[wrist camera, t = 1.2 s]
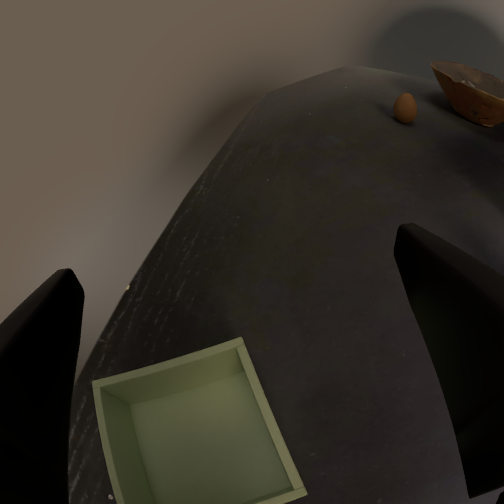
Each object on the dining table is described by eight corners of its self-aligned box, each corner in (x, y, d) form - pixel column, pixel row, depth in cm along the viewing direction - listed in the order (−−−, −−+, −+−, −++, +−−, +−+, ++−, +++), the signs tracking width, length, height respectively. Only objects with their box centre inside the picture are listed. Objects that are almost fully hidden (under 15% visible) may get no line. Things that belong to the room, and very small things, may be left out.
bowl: (523, 128, 51) (532, 95, 43) (516, 161, 41) (531, 117, 33) (442, 88, 64) (447, 55, 56) (410, 106, 54) (416, 64, 47)
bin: (302, 489, 17) (308, 494, 13) (158, 525, 16) (126, 534, 11) (249, 364, 24) (241, 336, 20) (124, 401, 23) (91, 380, 18)
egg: (401, 115, 51) (405, 87, 47) (419, 125, 49) (424, 96, 44) (387, 119, 50) (390, 90, 46) (405, 129, 47) (410, 99, 43)
